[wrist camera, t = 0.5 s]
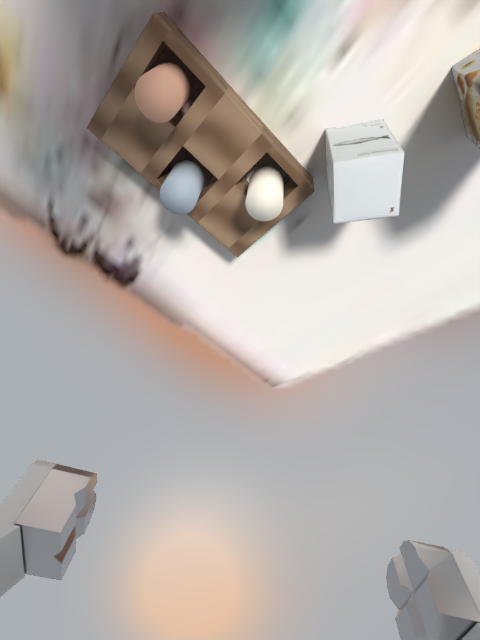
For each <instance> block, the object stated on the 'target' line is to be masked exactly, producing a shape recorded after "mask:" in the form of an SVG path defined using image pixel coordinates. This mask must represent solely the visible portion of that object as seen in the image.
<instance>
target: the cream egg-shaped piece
mask: <svg viewBox="0 0 480 640" xmlns="http://www.w3.org/2000/svg"><path fill="white" fill-rule="evenodd" d="M283 192H284V181H283V177H282V175H281V173H280V172H279V171H278V170H276V169H275V168H272V167H261V168H259V169H257V170H256V171H254V173H253V174H252V175H251V177H250V181H249V186H248V191H247V196H246V201H245V205H246V209H247V212H248V213H249V215H250V216H251V217H253V218H254V219H256V220H259V221H270V220H273V219H274V218H276V217H277V216H278V215H279V214H280V213H281V211H282V208H283Z"/></svg>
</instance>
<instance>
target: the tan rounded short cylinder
mask: <svg viewBox="0 0 480 640" xmlns="http://www.w3.org/2000/svg"><path fill="white" fill-rule="evenodd" d="M189 94H190V83H189V79H188V77H187V75H186V73H185V72H184V70H183V69H182V68H181V67H179V66H178V65H176V64H174V63H171V62H164V63H161V64H159V65H157V66H156V67H154V68H153V69H151V70H150V71H148V72H146V73H145V74H143V75H142V76H141V77H140V78H139V79H138V81H137V83H136V85H135V100H136V103H137V106H138V108H139V110H140V111H141V112H142V114H143V115H144V116H145V117H146V118H148V119H149V120H151V121H154V122H157V123H164V122H167V121H169V120H171V119H172V118H173V117H174V116H175V114H176V113H177V112H178V111H179V110H180V109H181V107H182V106H183V105H184V104H185V103H186V101H187V100H188V98H189Z"/></svg>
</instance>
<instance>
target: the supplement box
mask: <svg viewBox="0 0 480 640" xmlns="http://www.w3.org/2000/svg"><path fill="white" fill-rule="evenodd" d="M325 133H326V164H327V184H328V191H329V198H330V204H331V210H332V217H333V223H335V224H337V223H345V222H353V221H361V220H370V219H378V218H386V217H396V216H399V208H400V196H401V184H402V173H403V164H404V151H403V149H402V148H401V146H400V145H399V143H398V142H397V140H396V138H395V137H394V135H393V134H392V132H391V131H390V129H389V127H388V126H387V124H386V123H385V121H384V120H383V119H379V120H375V121H370V122H365V123H360V124H354V125H348V126H341V127H334V128H327V129H326V130H325Z"/></svg>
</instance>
